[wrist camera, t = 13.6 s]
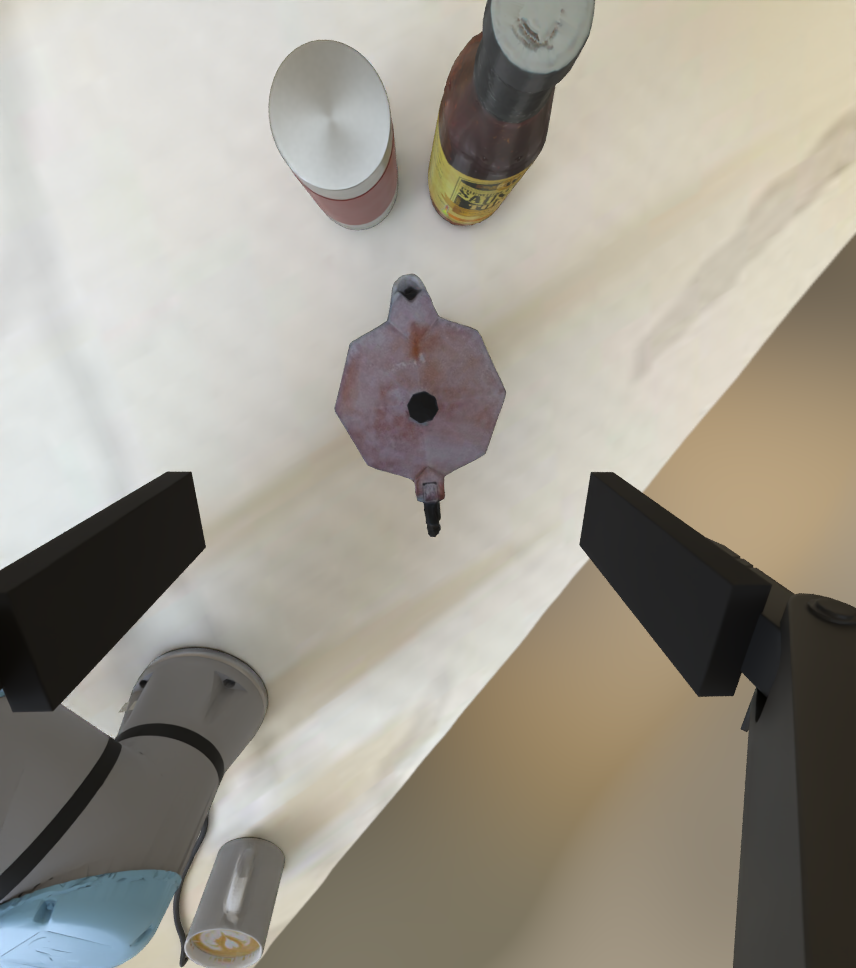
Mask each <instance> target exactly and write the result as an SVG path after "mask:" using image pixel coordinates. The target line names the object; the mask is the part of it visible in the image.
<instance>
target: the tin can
mask: <svg viewBox="0 0 856 968" xmlns="http://www.w3.org/2000/svg"><path fill="white" fill-rule="evenodd" d="M269 120H270V127H271V131H272V135H273V138H274V141H275V143H276V146H277V148H278V150H279V152H280V154H281V156H282V157H283V159H284V160H285V162H286V163H287V165H288V166H289V167H290V169H291V170H292V172H293V173H294V175H295V176H296V177H297V179H298V180H299V181H300V183H301V184H302V185H303V186H304V188H305V189H306V190H307V191H308V193H309V194H310V195H311V196H312V198H313V199H314V200H315V202H316V203H317V204H318V205H319V207H320V208H321V209H322V210H323V211H324V212H325V213H326V214H327V216H328V217H329V218H330V219H332V220H333V221H334V222H335V223H337V224H339V225H340V226H342V227H345V228H348V229H352V230H364V229H368V228H371V227H373V226H375V225H377V224H379V223H380V222H381V221H382V220H383V219H384V218H385V217H386V216H387V215H388V214H389V212H390V210H391V209H392V207H393V205H394V202H395V199H396V195H397V189H398V177H397V176H398V173H397V161H396V151H395V141H394V131H393V124H392V118H391V111H390V105H389V100H388V97H387V93H386V90H385V88H384V85H383V83H382V81H381V79H380V77H379V75H378V73H377V72H376V70H375V69H374V68H373V66H372V65H371V64H370V63H369V62H368V60H367V59H366V58H365V57H364V56H362V55H361V54H360V53H359V52H358V51H356V50H355V49H353V48H352V47H350V46H348V45H345V44H343V43H340V42H337V41H332V40H316V41H311V42H308V43H306V44H303V45H301V46H300V47H298V48H296V49H295V50H294V51H292V52H291V53H290V54H289V55H288V56H287V57H286V58H285V60H284V61H283V62H282V64H281V65H280V67H279V68H278V70H277V72H276V75H275V77H274V79H273V83H272V86H271V90H270V96H269Z"/></svg>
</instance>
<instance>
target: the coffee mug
mask: <svg viewBox="0 0 856 968" xmlns="http://www.w3.org/2000/svg"><path fill="white" fill-rule="evenodd" d="M284 863H285V857H284V854H283V852H282V851H281V850H280V849H279V848H278V847H277V846H276V845H274V844H273V843H271V842H268V841H266V840H263V839H258V838H240V839H235V840H232V841H230V842H228V843H226V844H225V845H223V846H222V847H221V849H220V850H219V852H218V855H217V857H216V860H215V863H214V865H213V868H212V871H211V874H210V876H209V879H208V882H207V884H206V887H205V890H204V892H203V895H202V898H201V901H200V903H199V906H198V909H197V911H196V914H195V917H194V919H193V922H192V925H191V928H190V930H189V933H188V936H187V938H186V942H185V945H184V950H185V953H186V955H187V956H188V957H189V959H191V960H192V961H193V962H195V963H196V964H198V965H201V966H203V967H206V968H246V967H249V966H251V965H253V964H255V963H256V962H257V961H258V960H259V959H260V958H261V956H262V954H263V950H264V946H265V942H266V938H267V934H268V929H269V925H270V921H271V917H272V913H273V909H274V904H275V900H276V896H277V892H278V888H279V884H280V879H281V875H282V871H283V867H284Z"/></svg>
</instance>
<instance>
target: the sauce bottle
mask: <svg viewBox="0 0 856 968" xmlns="http://www.w3.org/2000/svg"><path fill="white" fill-rule="evenodd" d="M594 6H595V0H488V1H487V4H486V7H485V12H484V18H483V31H482V32H481V33H480V34H478V35H476V36H474V37H473V38H472V39H471V40H470V41H469V42H468V44H467V45H466V46H465V48H464V49H463V50H462V51H461V52H460V54H459V56H458V57H457V58H456V60H455V62H454V65H453V66H452V68H451V71H450V73H449V76H448V79H447V82H446V86H445V88H444V94H443V97H442V100H441V104H440V108H439V113H438V119H437V124H436V130H435V136H434V141H433V146H432V151H431V157H430V162H429V169H428V185H429V192H430V197H431V200H432V204H433V206H434V207H435V209H436V211H437V212H438V213H439V214H440V215H441V216H442V217H443V218H444V219H446V220H447V221H449V222H450V223H451V224H454V225H460V226H465V225H473V224H476V223H480V222H481V221H483V220H485V219H487V218H488V217H489V216H491V215H492V214H493V213H494V212H495V211H496V210H497V208H498V207H499V206H500V205H501V203H502V202H503V201H504V199H505V198H506V197H507V196H508V194H509V193H510V192H511V191H512V189H513V188H514V186H515V185H516V184H517V182H518V181H519V180H520V179H521V177H522V176H523V175H524V173H525V172H526V171H527V170H528V168H529V167H530V166H531V165H532V164H533V162H534V161H535V159H536V158H537V157H538V155H539V154H540V152H541V150H542V148H543V146H544V143H545V141H546V136H547V132H548V126H549V120H550V114H551V108H552V102H553V96H554V91H555V85H556V84H557V83H558V82H560V81H561V80H562V79H563V78H564V77H565V76H566V74H567V73H568V72H569V71H570V70H571V68H572V66H573V64H574V63H575V61H576V59H577V58H578V56H579V54H580V52H581V50H582V49H583V47H584V45H585V43H586V41H587V39H588V37H589V34H590V30H591V26H592V21H593V15H594Z"/></svg>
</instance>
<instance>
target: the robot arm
mask: <svg viewBox="0 0 856 968" xmlns="http://www.w3.org/2000/svg"><path fill="white" fill-rule="evenodd" d="M579 545H580V546H581V548H582V549H583V550H584V551H585V553H586V554H587V555H588V557H589V558H590V559H591V560H592V562H593V563H594V564H595V565H596V567H597V568H598V569H599V570H600V572H601V573H602V574H603V576H604V577H605V578H606V579H607V581H608V582H609V583H610V585H611V586H612V587H613V588H614V590H615V591H616V592H617V593H618V595H619V596H620V597H621V599H622V600H623V601H624V602H625V604H626V605H627V606H628V608H629V609H630V610H631V611H632V613H633V614H634V615H635V616H636V618H637V619H638V620H639V621H640V623H641V624H642V625H643V627H644V628H645V629H646V630H647V632H648V633H649V634H650V636H651V637H652V638H653V639H654V641H655V642H656V643H657V644H658V646H659V647H660V648H661V649H662V651H663V652H664V653H665V655H666V656H667V657H668V658H669V660H670V661H671V662H672V663H673V665H674V666H675V667H676V669H677V670H678V671H679V672H680V674H681V675H682V676H683V678H684V679H685V680H686V681H687V682H688V684H689V685H690V687H691V688H692V689H693V690H694V692H695V693H696V694H697V695H698V697H703V696H705V697H707V696H733V695H734V693H735V690H736V687H737V685H738V682H739V678H740V676H741V673H743V674H744V675H745V676H746V677H747V678H748V679H749V680H750V681H751V682H752V683H753V684H754V685H755V686H756V689H755V692H754V695H753V697H752V700H751V702H750V705H749V708H748V711H747V713H746V716H745V718H744V721H743V724H742V727H741V730H744V731H746V732H747V731H748V730H749V737H748V750H747V765H746V780H745V795H744V811H743V825H742V840H741V856H740V870H739V885H738V900H737V916H736V930H735V945H734V961H733V968H856V608H855V607H853V606H851V605H848V604H846V603H843V602H840V601H838V600H834V599H831V598H829V597H824V596H820V595H814V594H802V593H801V594H800V593H799V594H796V595H795V594H794V593H792V592H791V591H789V590H788V589H787V588H785V587H784V586H782V585H781V584H779V583H778V582H776V581H775V580H773V579H772V578H771V577H769V576H768V575H766V574H765V573H763V572H762V571H760V570H759V569H757V568H753V565H752V564H750V563H749V562H747V561H746V560H744V559H740V556H739V555H737V554H736V553H734V552H733V551H731V550H730V549H728V548H727V547H726V546H724V545H722V544H719V543H717V542H715V541H713V540H710V539H708V538H706V537H704V536H703V535H701V534H700V533H699V532H697V531H696V530H694V529H693V528H691V527H690V526H689V525H687V524H686V523H684V522H683V521H682V520H680V519H679V518H677V517H676V516H674V515H673V514H672V513H670V512H669V511H667V510H666V509H664V508H663V507H661V506H660V505H659V504H657V503H656V502H655V501H653V500H652V499H650V498H649V497H647V496H646V495H645V494H643V493H642V492H640V491H639V490H638V489H636V488H635V487H633V486H632V485H631V484H629V483H628V482H626V481H625V480H623V479H622V478H621V477H619V476H618V475H616V474H615V473H614V472H591V475H590V481H589V487H588V494H587V500H586V506H585V513H584V519H583V525H582V532H581V538H580V544H579ZM205 548H206V545H205V540H204V535H203V530H202V524H201V519H200V514H199V509H198V503H197V498H196V493H195V487H194V482H193V477H192V472H166V473H164V474H162V475H161V476H159V477H157V478H156V479H154V480H152V481H151V482H149V483H147V484H146V485H144V486H142V487H140V488H139V489H137V490H135V491H134V492H132V493H130V494H129V495H127V496H125V497H124V498H122V499H120V500H118V501H117V502H115V503H113V504H112V505H110V506H108V507H107V508H105V509H103V510H102V511H100V512H98V513H96V514H95V515H93V516H91V517H90V518H88V519H86V520H85V521H83V522H81V523H80V524H78V525H76V526H74V527H73V528H71V529H69V530H68V531H66V532H64V533H63V534H61V535H59V536H58V537H56V538H54V539H52V540H51V541H49V542H47V543H46V544H44V545H42V546H41V547H39V548H37V549H36V550H34V551H32V552H30V553H29V554H27V555H25V556H24V557H22V558H20V559H19V560H17V561H15V562H14V563H12V564H10V565H8V566H7V567H5V568H3V569H2V570H0V968H114V967H116V966H119V965H121V964H123V963H124V962H126V961H128V960H129V959H131V958H132V957H134V956H135V955H136V954H138V953H139V952H140V951H141V950H142V949H143V948H144V947H145V946H146V945H147V944H148V943H149V941H150V940H151V938H152V937H153V936H154V934H155V932H156V930H157V928H158V926H159V924H160V922H161V920H162V918H163V916H164V914H165V912H166V910H167V908H168V906H169V904H170V902H171V900H172V897H173V895H174V893H175V895H174V902H173V914H174V922H175V926H176V930H177V933H178V935H179V938H180V942H181V956H180V967H183V966H184V965H185V964H186V962H187V961H188V959H187V958H185V957H186V953H185V950H184V945H185V942H186V937H185V934H184V930H183V928H182V925H181V922H180V916H179V898H180V892H181V888H182V884H183V881H184V878H185V876H186V873H187V871H188V869H189V867H190V865H191V863H192V861H193V858H194V856H195V854H196V852H197V850H198V849H199V847H200V845H201V843H202V841H203V839H204V837H205V834H206V831H207V827H208V812H209V809H210V807H211V804H212V802H213V800H214V797H215V795H216V792H217V789H218V787H219V785H220V782H221V780H222V778H223V776H224V773H225V772H226V771H227V769H228V768H229V767H230V766H231V764H232V763H233V762H234V761H235V759H236V758H237V757H238V756H239V755H240V753H241V752H242V751H243V749H244V748H245V747H246V746H247V744H248V743H249V742H250V741H251V740H252V738H253V737H254V736H255V734H256V733H257V731H258V729H259V728H260V726H261V724H262V722H263V719H264V716H265V714H266V711H267V706H268V697H267V692H266V689H265V686H264V684H263V682H262V681H261V679H260V678H259V676H258V675H257V674H256V673H255V672H254V671H253V670H252V669H251V668H250V667H249V666H248V665H246V664H245V663H243V662H242V661H240V660H239V659H237V658H235V657H233V656H231V655H228V654H226V653H223V652H220V651H216V650H212V649H206V648H184V649H178V650H174V651H171V652H168V653H166V654H163V655H161V656H160V657H158V658H157V659H155V660H154V661H153V662H152V663H150V665H149V666H148V667H147V668H146V669H145V671H144V672H143V673H142V674H141V676H140V677H139V679H138V681H137V682H136V684H135V686H134V688H133V690H132V693H131V696H130V699H129V702H128V703H125V705H124V706H123V707H122V709H121V710H120V711H119V712H124V711H125V714H124V717H123V720H122V723H121V726H120V729H119V732H118V735H117V737H116V738H115V740H114V739H113V738H111V737H110V736H108V735H107V734H105V733H104V732H102V731H101V730H99V729H98V728H96V727H95V726H93V725H92V724H90V723H89V722H87V721H86V720H84V719H83V718H81V717H80V716H78V715H77V714H75V713H74V712H72V711H71V710H69V709H68V708H66V707H65V706H63V705H62V704H61V703H62V701H63V700H64V699H65V698H66V697H67V696H68V695H69V694H70V693H71V692H72V691H73V690H74V689H75V687H76V686H77V685H78V684H79V683H80V682H81V681H82V680H83V679H84V678H85V677H86V676H87V675H88V674H89V672H90V671H91V670H92V669H93V668H94V667H95V666H96V665H97V664H98V663H99V662H100V661H101V660H102V658H103V657H104V656H105V655H106V654H107V653H108V652H109V651H110V650H111V649H112V648H113V647H114V646H115V645H116V643H117V642H118V641H119V640H120V639H121V638H122V637H123V636H124V635H125V634H126V633H127V632H128V631H129V629H130V628H131V627H132V626H133V625H134V624H135V623H136V622H137V621H138V620H139V619H140V618H141V617H142V616H143V614H144V613H145V612H146V611H147V610H148V609H149V608H150V607H151V606H152V605H153V604H154V603H155V602H156V600H157V599H158V598H159V597H160V596H161V595H162V594H163V593H164V592H165V591H166V590H167V589H168V588H169V586H170V585H171V584H172V583H173V582H174V581H175V580H176V579H177V578H178V577H179V576H180V575H181V574H182V573H183V571H184V570H185V569H186V568H187V567H188V566H189V565H190V564H191V563H192V562H193V561H194V560H195V559H196V557H197V556H198V555H199V554H200V553H201V552H202V551H203V550H204V549H205ZM200 831H201V832H200ZM199 833H200V835H199ZM198 836H199V837H198ZM197 838H198V839H197Z"/></svg>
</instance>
